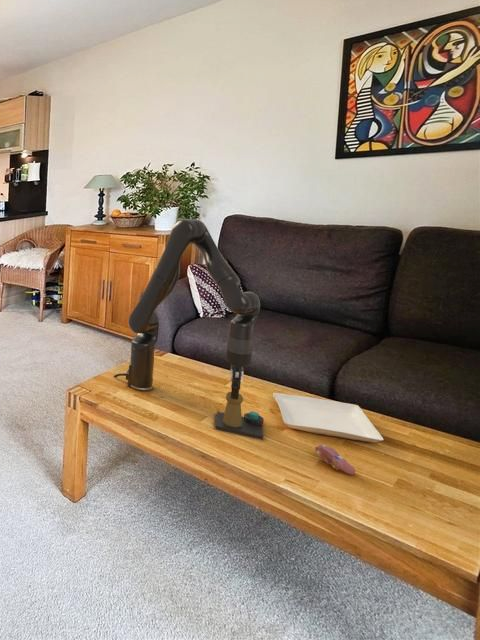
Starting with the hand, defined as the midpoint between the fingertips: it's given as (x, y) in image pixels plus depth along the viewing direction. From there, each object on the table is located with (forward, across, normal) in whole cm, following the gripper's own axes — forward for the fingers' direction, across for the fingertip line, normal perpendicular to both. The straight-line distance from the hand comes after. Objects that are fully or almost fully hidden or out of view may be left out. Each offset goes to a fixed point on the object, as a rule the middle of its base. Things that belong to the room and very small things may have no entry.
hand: (234, 393), depth 165 cm
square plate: (+12, -19, +28) cm, 36 cm away
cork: (+11, 0, 0) cm, 11 cm away
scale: (+12, -1, +2) cm, 13 cm away
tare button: (+10, -5, +7) cm, 13 cm away
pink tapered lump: (+12, +12, +27) cm, 32 cm away
